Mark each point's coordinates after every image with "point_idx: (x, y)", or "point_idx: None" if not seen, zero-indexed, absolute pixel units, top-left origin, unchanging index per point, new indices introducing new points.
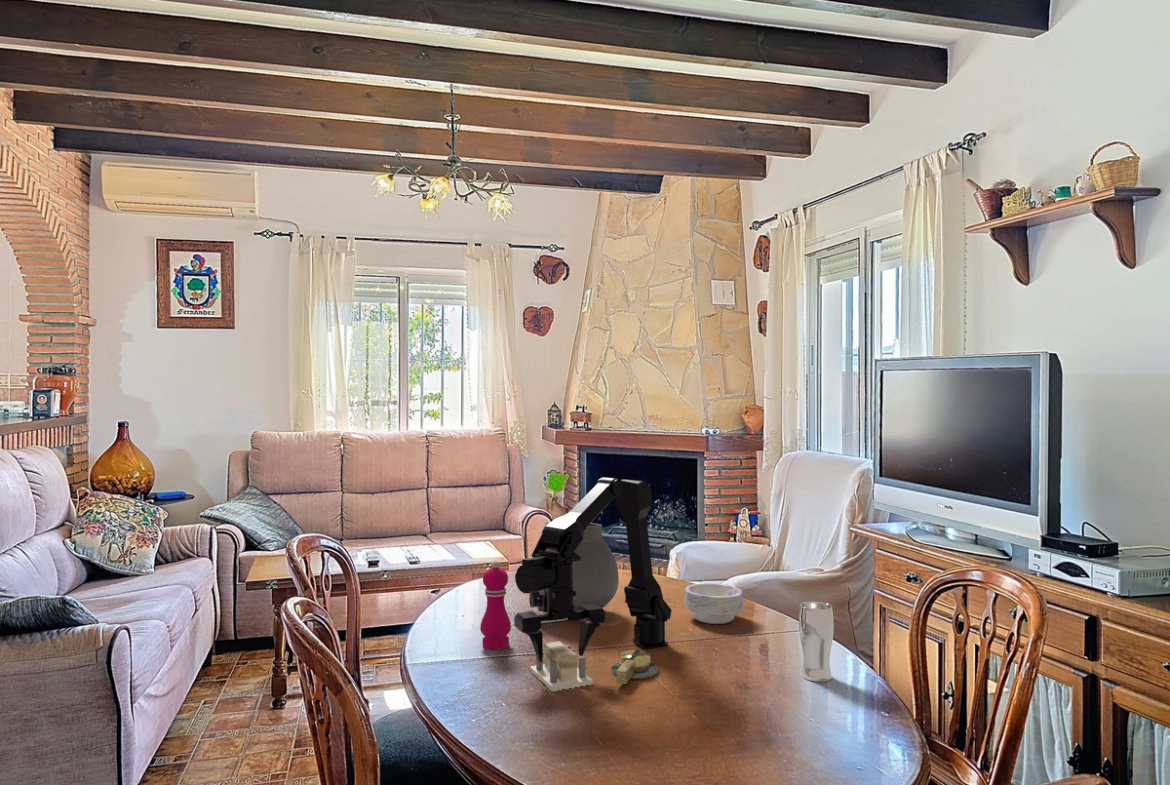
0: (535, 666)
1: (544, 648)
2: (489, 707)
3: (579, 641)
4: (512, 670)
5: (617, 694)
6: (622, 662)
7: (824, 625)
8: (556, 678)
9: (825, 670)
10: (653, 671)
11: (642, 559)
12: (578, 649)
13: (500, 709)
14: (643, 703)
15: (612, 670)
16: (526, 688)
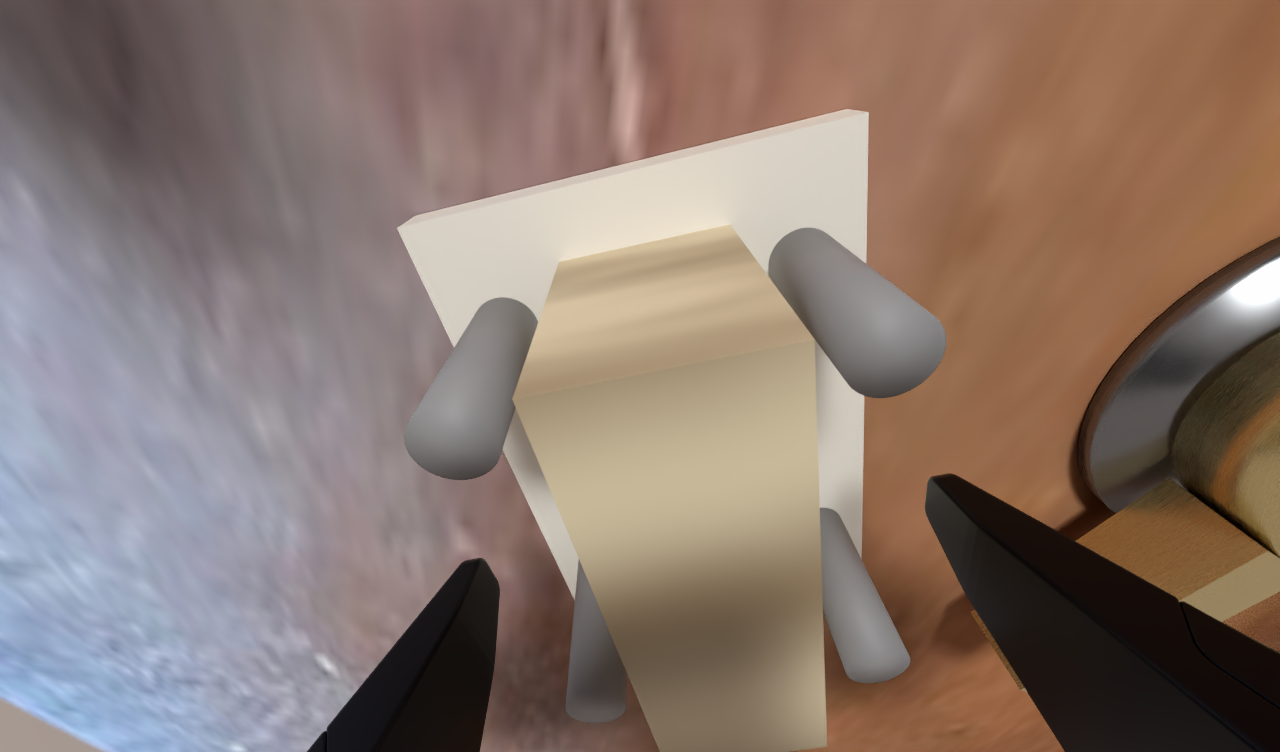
0: (461, 248)
1: (529, 359)
2: (264, 683)
3: (1047, 613)
4: (216, 153)
5: (908, 645)
6: (1234, 489)
7: None
8: None
9: None
10: None
11: None
12: (963, 512)
13: (327, 700)
14: (957, 712)
15: (1110, 411)
16: (426, 535)
